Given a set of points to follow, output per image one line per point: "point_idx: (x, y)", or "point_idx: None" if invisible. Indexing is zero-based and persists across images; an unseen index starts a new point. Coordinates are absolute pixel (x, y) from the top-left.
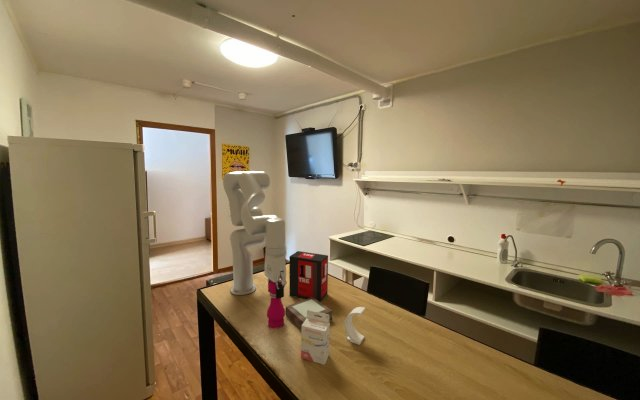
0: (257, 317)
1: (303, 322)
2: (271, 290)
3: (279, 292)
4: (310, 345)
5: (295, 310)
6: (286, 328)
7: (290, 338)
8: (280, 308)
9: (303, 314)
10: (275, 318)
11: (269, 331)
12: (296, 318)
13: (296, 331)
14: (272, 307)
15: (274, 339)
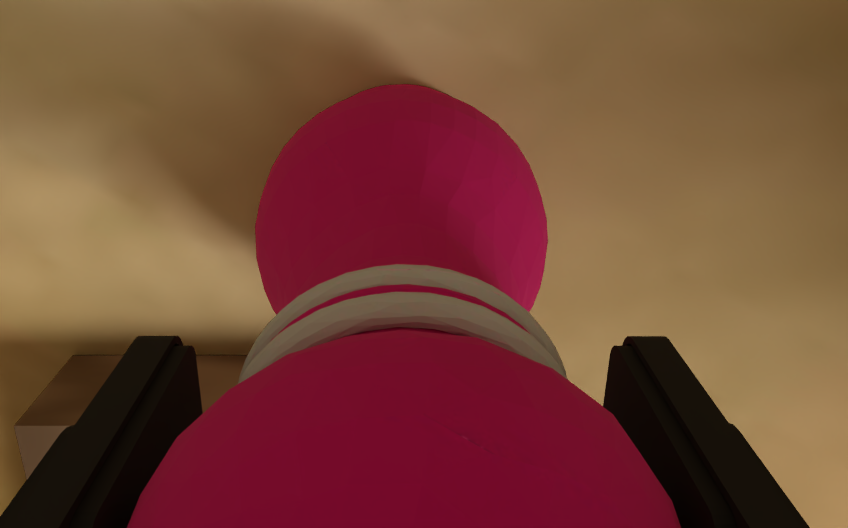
0: (695, 47)
1: (22, 423)
2: (266, 376)
3: (7, 518)
4: None
5: None
6: (241, 240)
7: (36, 185)
8: (278, 310)
9: None
10: (274, 164)
11: (301, 38)
12: (208, 404)
13: (127, 302)
14: (342, 200)
15: (109, 14)
